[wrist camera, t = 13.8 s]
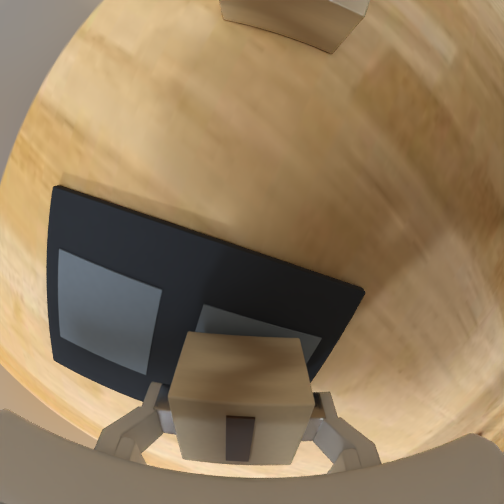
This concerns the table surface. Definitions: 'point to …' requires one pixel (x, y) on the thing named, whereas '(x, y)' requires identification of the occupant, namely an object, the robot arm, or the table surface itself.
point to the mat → (171, 294)
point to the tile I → (240, 399)
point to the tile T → (300, 18)
